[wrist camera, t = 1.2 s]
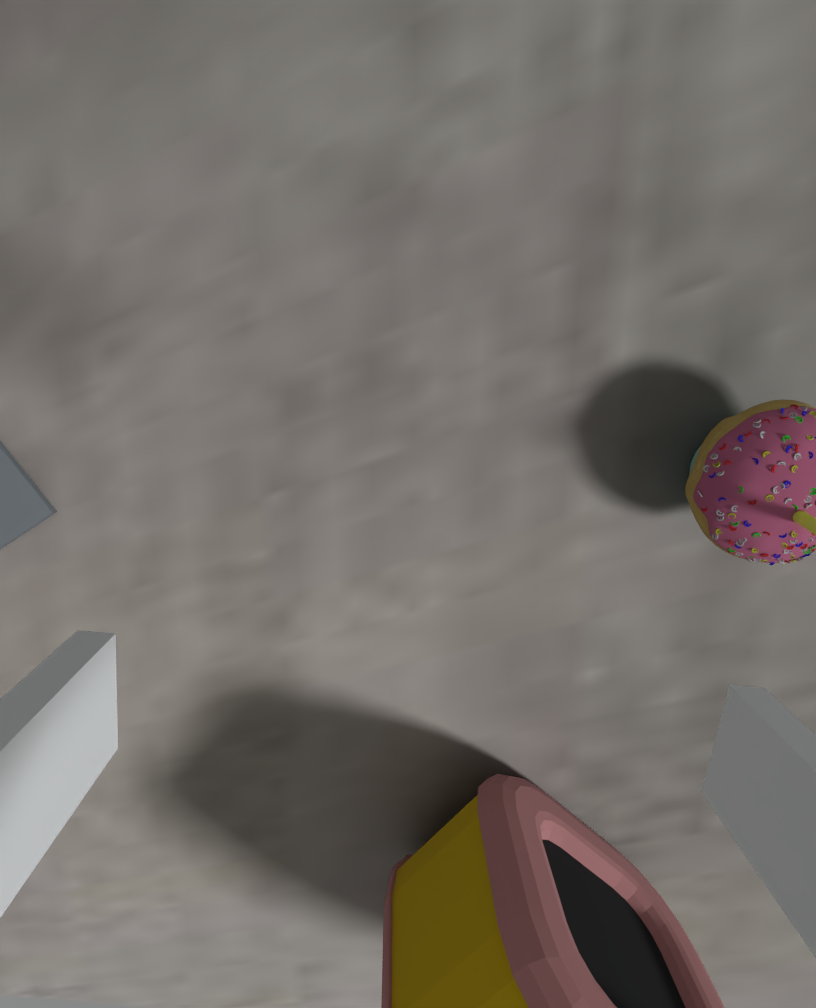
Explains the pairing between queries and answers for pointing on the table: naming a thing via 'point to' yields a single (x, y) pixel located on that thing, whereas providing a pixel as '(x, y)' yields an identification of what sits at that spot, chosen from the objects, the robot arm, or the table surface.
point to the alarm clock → (531, 917)
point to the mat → (18, 500)
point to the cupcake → (758, 483)
